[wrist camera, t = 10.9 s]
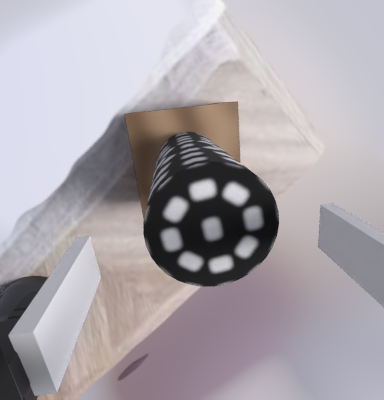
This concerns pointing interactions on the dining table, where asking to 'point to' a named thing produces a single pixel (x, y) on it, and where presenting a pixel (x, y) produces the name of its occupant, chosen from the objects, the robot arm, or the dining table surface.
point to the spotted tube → (207, 213)
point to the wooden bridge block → (174, 124)
